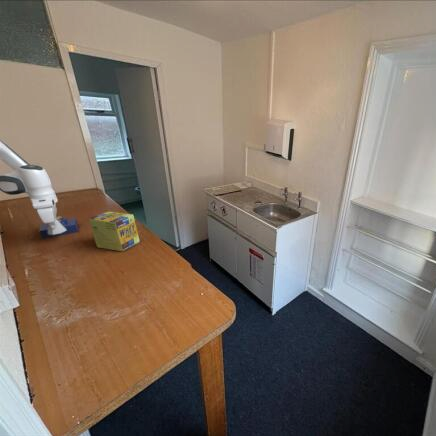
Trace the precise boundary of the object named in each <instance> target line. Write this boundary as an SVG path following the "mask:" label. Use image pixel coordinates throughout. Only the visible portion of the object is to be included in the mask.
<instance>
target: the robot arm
mask: <svg viewBox="0 0 436 436" xmlns="http://www.w3.org/2000/svg"><path fill="white" fill-rule="evenodd" d="M0 160H1V161H2V162H3V163H5V164H6V165H7V166H8V167H9V168H10V169H12V171H10V172H6V173H4V174H1V175H0V192H2V193H4V194H6V195H9V196H13V195H14V196H15V195H21V194H27V195H28V198H29V200H30V202H31V205H32V207H33V209H34V210H36V212H37V215H38V216H39V218H40V219H41V221H42V224H43V223H44V224H50V226H51V228H56V227H57V226H56V224H55V218H56V217H57V212H58V209H57V204H56V203H58V202H59V199H58V197H57V195H56V192H55V190H54V189H53V184H52V181H51V179H50V176H49V174H48V172H47V171H46V169H45V168H44V167H43V166H40V165H35V164H30V163H28V161H26V159H24V158H23V157H22V156H21V155H19V154H18V153H17V152H16V151H15V150H14V149H12V148H11V147H9V146H8V145H7V144H6V143H5V142H3V141H2V140H0Z"/></svg>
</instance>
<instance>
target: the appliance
mask: <svg viewBox="0 0 436 436" xmlns="http://www.w3.org/2000/svg"><path fill="white" fill-rule="evenodd" d="M62 219H63V220H61V221H59V222H60V223H61V224H62V225H63V226H64V227H65V228H66V230H67V231H65V232H62V233H59V234H54V235H50V234H48V224H44V223H43V222H42V223H41V224H40V227H39V234H40V237H41V238H42V239H46V238H50V237H51V238H52V237H57V236H61V235H67V234H72V233H76V232H79V222H78V220H77V218H76V217H73V218H68V219H67V217H62Z"/></svg>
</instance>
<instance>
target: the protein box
mask: <svg viewBox="0 0 436 436" xmlns="http://www.w3.org/2000/svg"><path fill="white" fill-rule="evenodd" d="M87 221H88V222H89V225H90V229H91V232H92V236H93V238H94V242H95V245H96V248H100V249H105V250H110V251H111V250H113V251H118V252H125V251H127V250H128V249H130V248H132V247H133V246H135V245H137V244H139V243H140V237H139V232H138V228H137V225H136V219H135V216H134V214H132V213H124V212H116V211H115V212H114V211H106V212H103V213H101V214H98V215H95V216H92V217H90V218H88V220H87Z"/></svg>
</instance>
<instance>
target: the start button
mask: <svg viewBox="0 0 436 436" xmlns="http://www.w3.org/2000/svg"><path fill="white" fill-rule="evenodd" d="M62 218H63V216H61V215H59V216H57V215H56V219H57V220H58V221H61V220H63V219H62Z"/></svg>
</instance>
